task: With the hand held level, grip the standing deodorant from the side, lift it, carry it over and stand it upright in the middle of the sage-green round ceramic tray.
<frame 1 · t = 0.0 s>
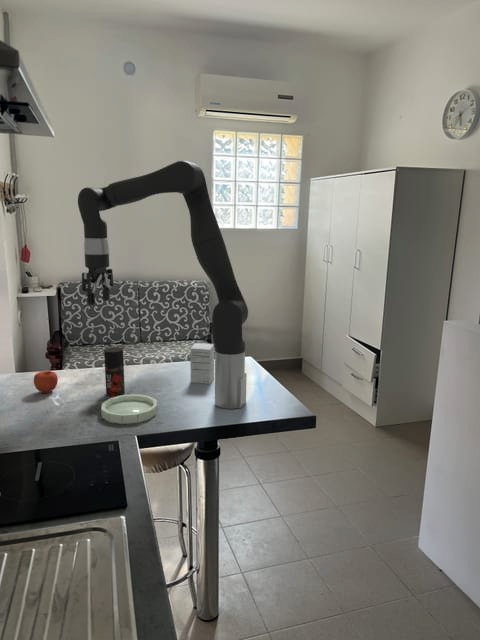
hand: (99, 302, 158), 29 cm above the counter, tool pointing down, fingers open, 8 cm apart
round tray: (129, 412, 144), on the counter
supplement box: (202, 380, 173), on the counter
deodorant: (115, 394, 159), on the counter
apple: (46, 392, 160), on the counter
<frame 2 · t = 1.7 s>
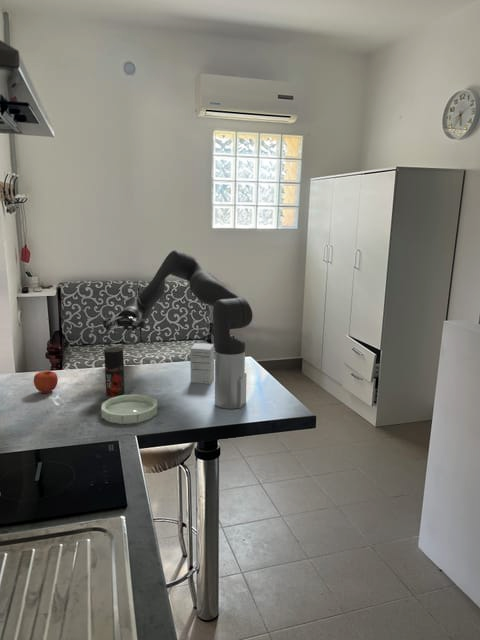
hand: (120, 327, 166), 20 cm above the counter, tool horizontal, fingers open, 8 cm apart
nothing on the counter moved.
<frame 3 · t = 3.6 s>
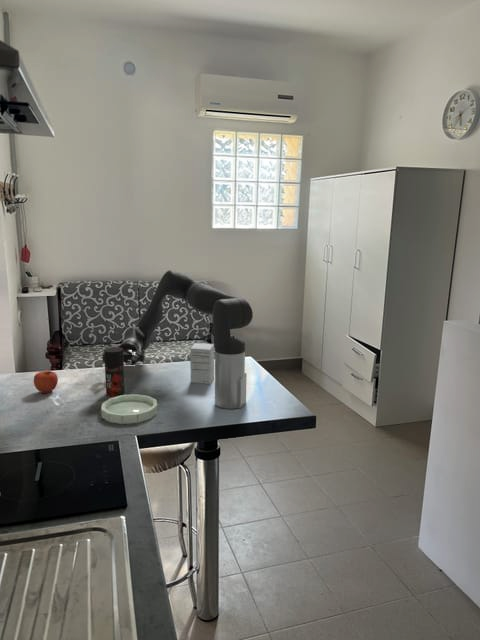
hand: (119, 362, 164), 8 cm above the counter, tool horizontal, fingers open, 8 cm apart
nothing on the counter moved.
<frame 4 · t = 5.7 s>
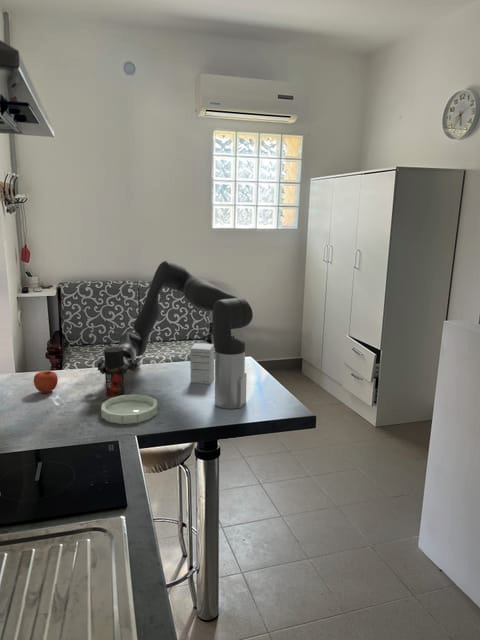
hand: (112, 371, 155), 9 cm above the counter, tool horizontal, fingers closed on deodorant, 6 cm apart
deodorant: (115, 394, 159), on the counter, touching gripper
everything else where it was.
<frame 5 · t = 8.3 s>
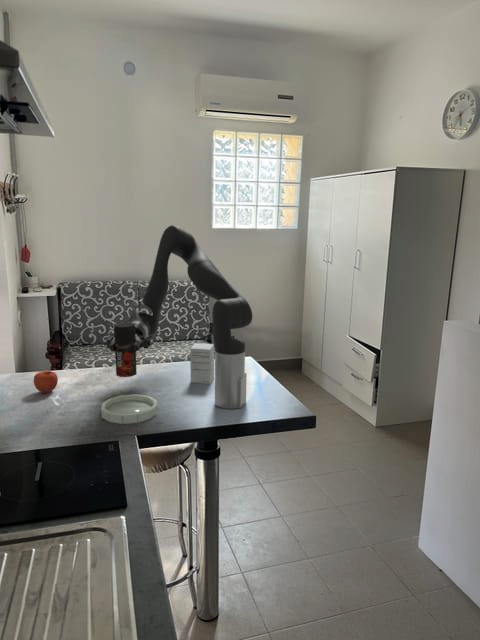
hand: (123, 348, 140), 20 cm above the counter, tool horizontal, fingers closed on deodorant, 6 cm apart
deodorant: (126, 374, 144), point 11 cm above the counter, touching gripper
everything else where it was.
when the fingers open (10 cm above the counter, at t = 10.9 s): deodorant stays where it is, resting on round tray.
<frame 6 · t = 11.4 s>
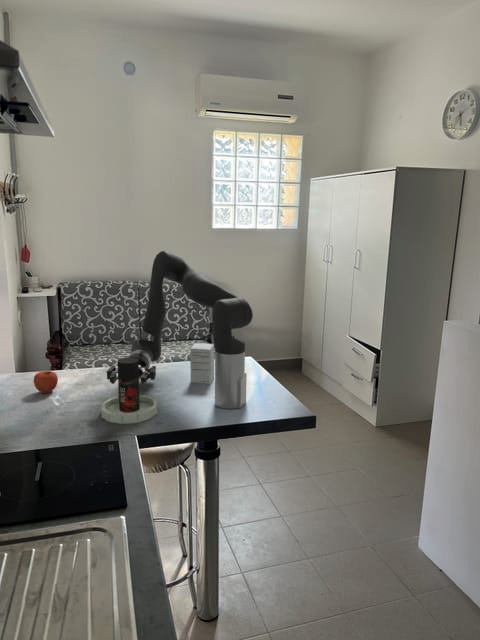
hand: (127, 380, 140), 10 cm above the counter, tool horizontal, fingers open, 8 cm apart
deodorant: (129, 409, 144), point 1 cm above the counter, touching round tray
everything else where it was.
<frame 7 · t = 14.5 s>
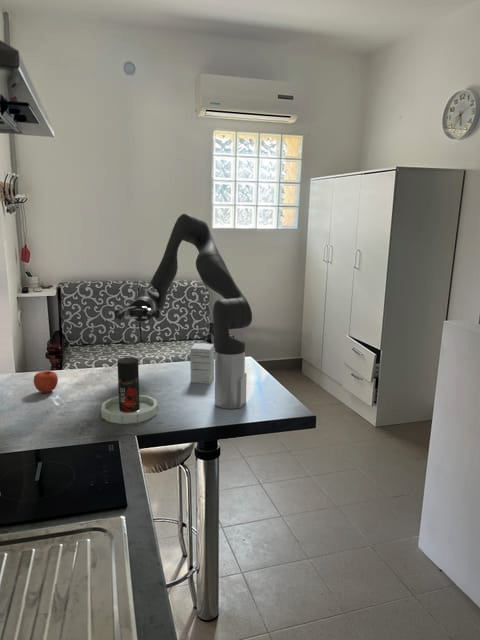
hand: (134, 316, 149), 27 cm above the counter, tool horizontal, fingers open, 8 cm apart
nothing on the counter moved.
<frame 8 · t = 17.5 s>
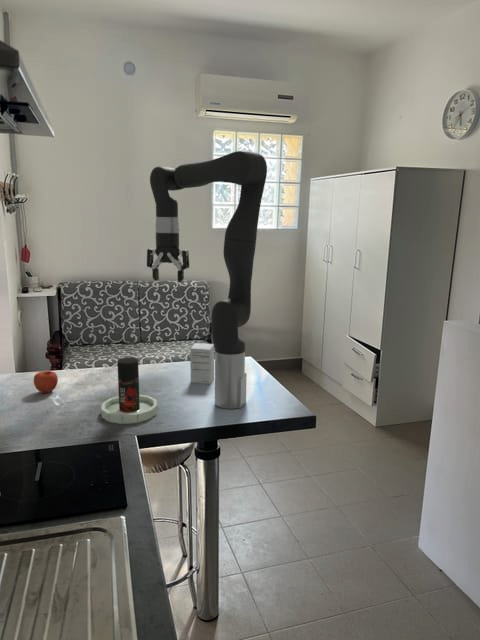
hand: (168, 281, 161), 36 cm above the counter, tool pointing down, fingers open, 8 cm apart
nothing on the counter moved.
at the end: deodorant inside the target area on the round tray (0.1 cm from its centre), point 0.8 cm above the round tray's base; deodorant tilted 0°; the gripper is holding nothing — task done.
